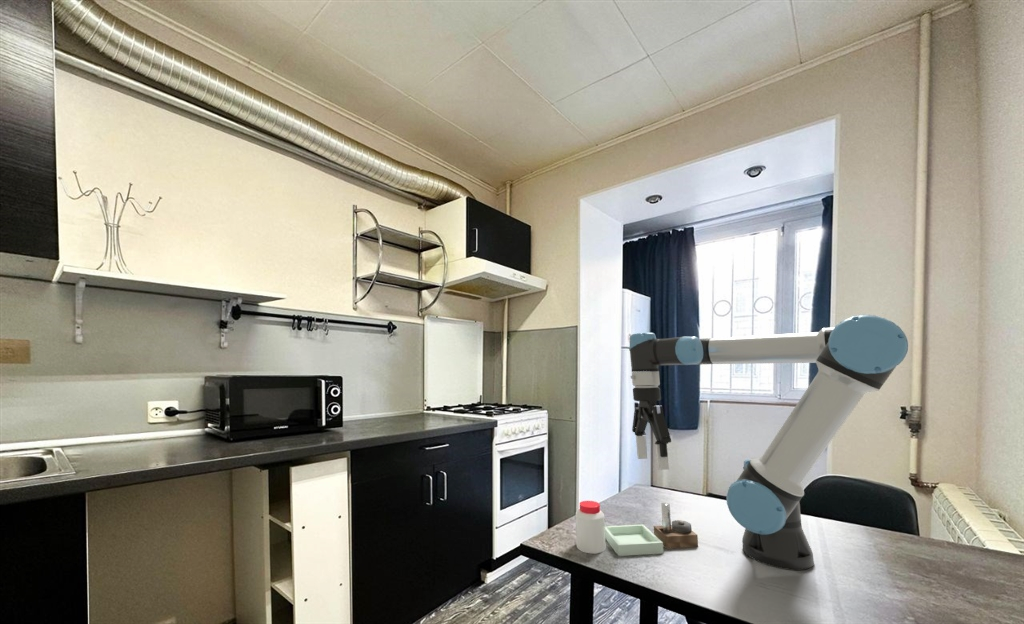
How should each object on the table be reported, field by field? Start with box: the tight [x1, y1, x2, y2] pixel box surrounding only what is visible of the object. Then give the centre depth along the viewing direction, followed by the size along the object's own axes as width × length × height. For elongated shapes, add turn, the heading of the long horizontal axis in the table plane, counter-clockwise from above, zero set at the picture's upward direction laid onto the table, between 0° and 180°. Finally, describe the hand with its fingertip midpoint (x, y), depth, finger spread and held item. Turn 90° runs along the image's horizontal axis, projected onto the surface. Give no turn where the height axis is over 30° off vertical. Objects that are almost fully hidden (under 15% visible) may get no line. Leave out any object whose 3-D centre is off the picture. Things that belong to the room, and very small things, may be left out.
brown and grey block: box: [653, 519, 699, 549], centre depth 110 cm, size 9×7×5 cm
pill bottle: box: [575, 500, 607, 554], centre depth 108 cm, size 8×8×11 cm
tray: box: [605, 523, 664, 557], centre depth 109 cm, size 12×12×3 cm
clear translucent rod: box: [661, 502, 672, 534], centre depth 110 cm, size 2×2×10 cm
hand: (652, 463), depth 112 cm, fingers open, 13 cm apart
